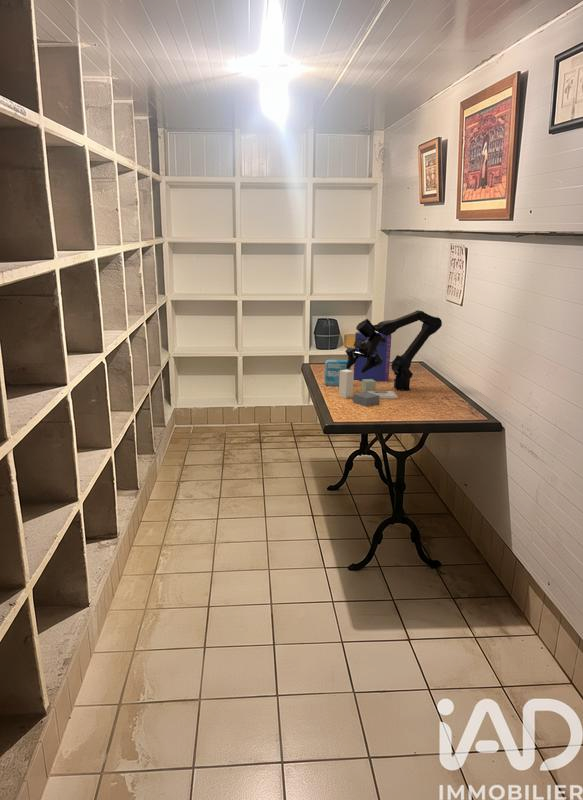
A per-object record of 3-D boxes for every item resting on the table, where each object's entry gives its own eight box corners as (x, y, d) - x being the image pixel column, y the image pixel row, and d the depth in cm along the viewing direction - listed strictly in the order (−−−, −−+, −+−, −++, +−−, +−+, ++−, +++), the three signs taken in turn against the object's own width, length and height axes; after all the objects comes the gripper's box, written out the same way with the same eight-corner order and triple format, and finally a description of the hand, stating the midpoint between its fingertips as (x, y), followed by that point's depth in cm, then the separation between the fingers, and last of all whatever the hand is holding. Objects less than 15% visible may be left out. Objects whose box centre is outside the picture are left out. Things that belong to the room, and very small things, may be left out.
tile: (392, 393, 281) (392, 390, 281) (397, 398, 272) (397, 395, 272) (366, 393, 280) (367, 390, 279) (371, 398, 271) (371, 395, 271)
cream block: (345, 394, 276) (346, 369, 273) (352, 396, 273) (353, 371, 270) (338, 396, 274) (339, 370, 270) (345, 398, 270) (347, 372, 267)
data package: (325, 385, 293) (326, 361, 290) (324, 383, 297) (325, 359, 294) (349, 386, 294) (351, 361, 291) (348, 383, 298) (349, 359, 295)
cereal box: (387, 379, 309) (390, 332, 303) (388, 381, 305) (391, 334, 298) (353, 378, 310) (355, 331, 303) (353, 380, 305) (356, 333, 299)
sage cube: (371, 389, 288) (371, 379, 287) (375, 391, 284) (376, 381, 282) (361, 389, 287) (362, 379, 286) (365, 392, 282) (366, 381, 281)
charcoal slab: (365, 400, 269) (366, 391, 268) (379, 404, 263) (379, 395, 262) (352, 403, 264) (353, 394, 263) (366, 407, 258) (366, 398, 257)
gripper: (349, 330, 280) (331, 356, 275) (380, 335, 266) (361, 363, 262) (359, 345, 287) (342, 371, 282) (390, 351, 273) (372, 378, 269)
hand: (354, 370), depth 274 cm, fingers open, 9 cm apart
